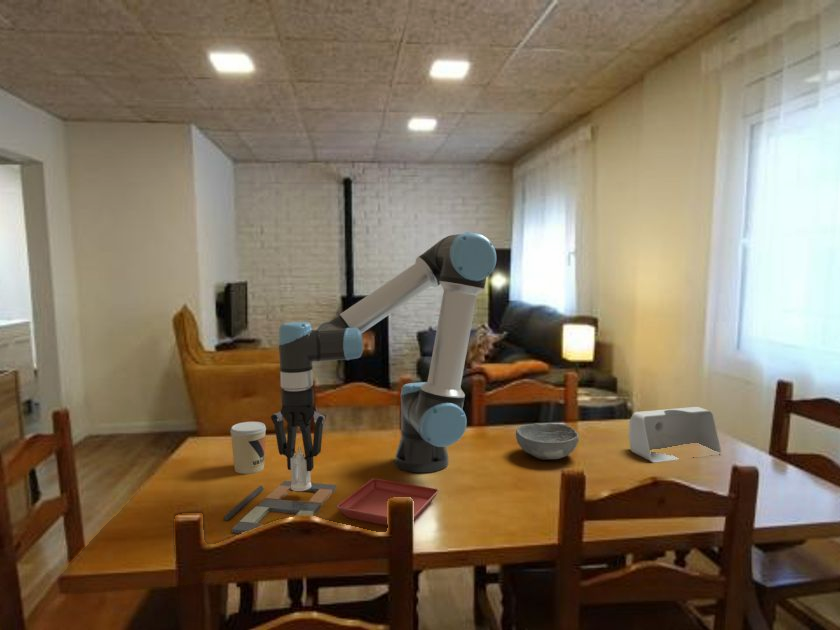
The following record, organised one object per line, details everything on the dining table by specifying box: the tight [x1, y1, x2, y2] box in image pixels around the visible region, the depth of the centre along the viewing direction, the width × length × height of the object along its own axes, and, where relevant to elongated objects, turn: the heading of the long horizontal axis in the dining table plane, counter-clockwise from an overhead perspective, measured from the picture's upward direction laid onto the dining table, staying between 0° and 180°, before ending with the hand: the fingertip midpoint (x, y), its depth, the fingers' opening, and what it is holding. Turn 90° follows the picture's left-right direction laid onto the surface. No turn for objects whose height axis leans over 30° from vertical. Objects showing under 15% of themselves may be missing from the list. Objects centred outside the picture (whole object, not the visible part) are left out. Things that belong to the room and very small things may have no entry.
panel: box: [231, 480, 337, 534], centre depth 126 cm, size 14×26×1 cm, turn 169°
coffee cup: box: [229, 421, 267, 475], centre depth 150 cm, size 9×9×12 cm
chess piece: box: [291, 446, 312, 492], centre depth 131 cm, size 5×5×10 cm
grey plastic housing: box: [628, 406, 722, 464], centre depth 165 cm, size 25×16×12 cm, turn 106°
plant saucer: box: [336, 478, 440, 526], centre depth 126 cm, size 18×18×3 cm
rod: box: [223, 485, 264, 521], centre depth 128 cm, size 17×1×1 cm, turn 169°
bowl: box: [515, 422, 580, 461], centre depth 160 cm, size 18×18×8 cm
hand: (301, 482), depth 132 cm, fingers closed on chess piece, 2 cm apart
